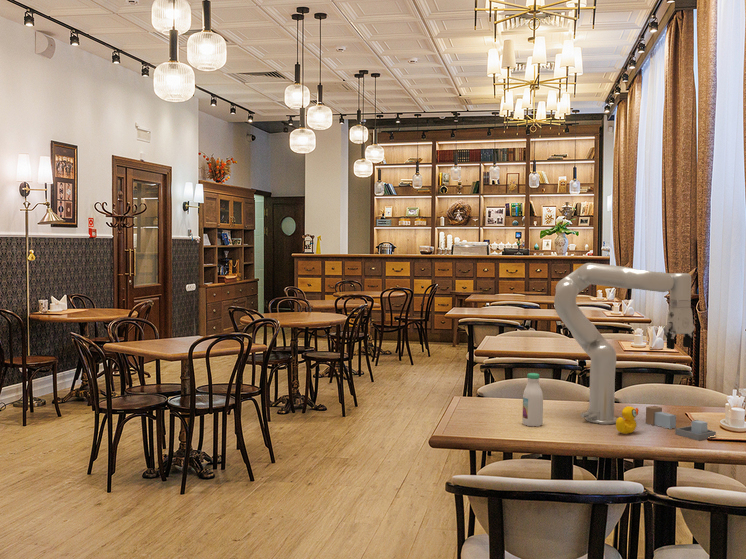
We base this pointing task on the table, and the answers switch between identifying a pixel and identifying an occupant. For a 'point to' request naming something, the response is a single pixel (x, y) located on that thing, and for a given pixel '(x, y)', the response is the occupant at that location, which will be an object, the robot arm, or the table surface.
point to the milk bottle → (533, 402)
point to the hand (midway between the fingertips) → (678, 348)
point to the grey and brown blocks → (660, 417)
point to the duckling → (627, 420)
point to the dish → (687, 433)
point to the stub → (699, 427)
